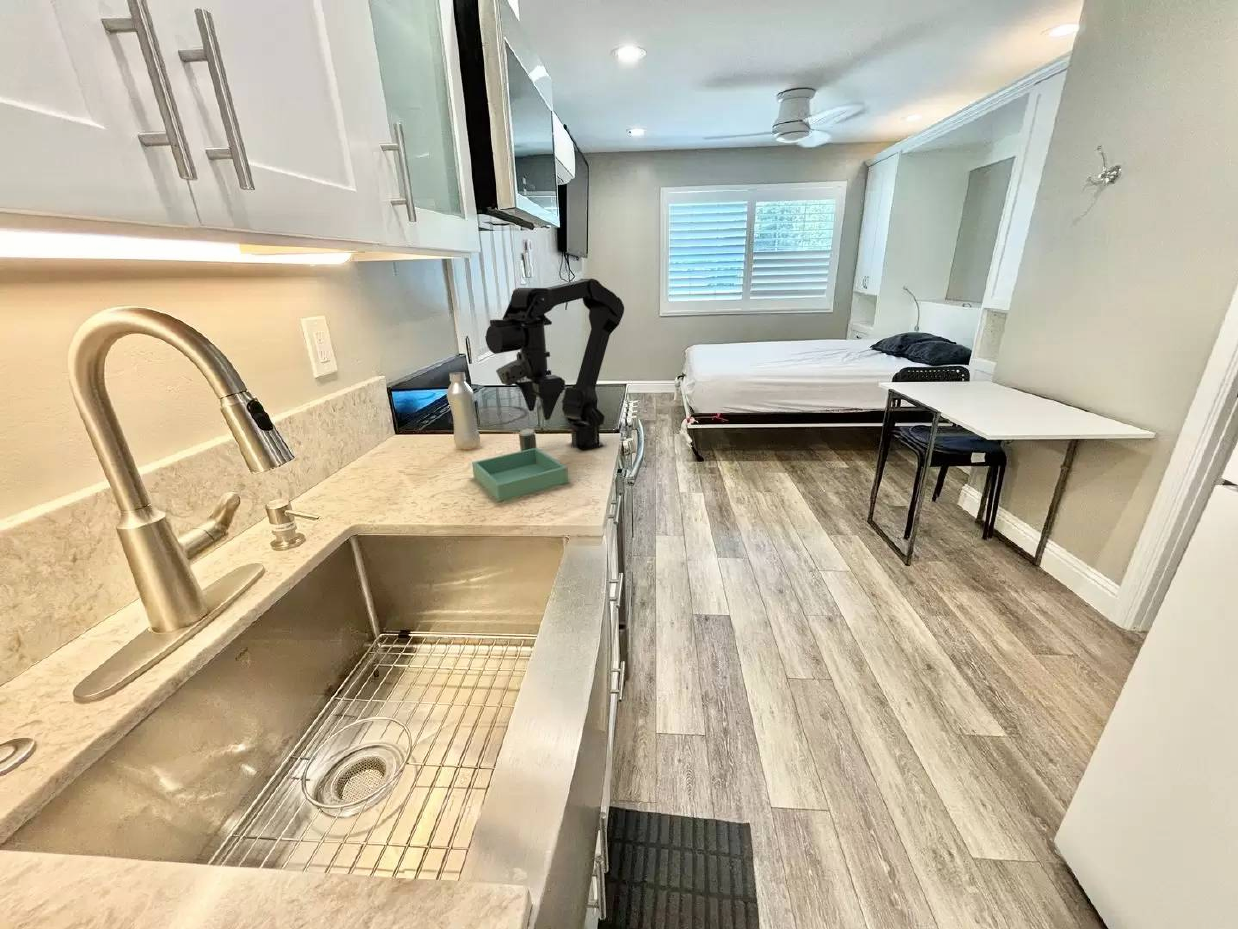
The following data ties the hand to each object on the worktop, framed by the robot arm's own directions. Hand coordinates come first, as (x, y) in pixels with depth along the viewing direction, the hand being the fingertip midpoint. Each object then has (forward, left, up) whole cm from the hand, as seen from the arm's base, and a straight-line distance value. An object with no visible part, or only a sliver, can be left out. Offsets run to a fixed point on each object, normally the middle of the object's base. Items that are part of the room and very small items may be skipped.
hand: (539, 415), depth 115 cm
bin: (+9, +8, -12) cm, 17 cm away
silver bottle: (+11, -22, -12) cm, 28 cm away
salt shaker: (+1, -5, -12) cm, 13 cm away
